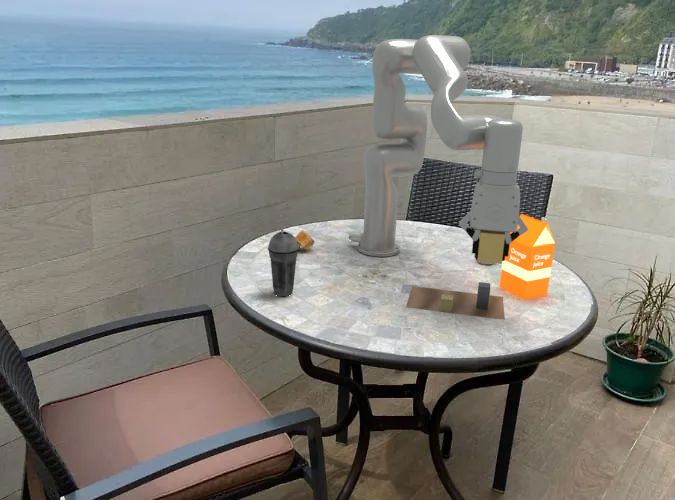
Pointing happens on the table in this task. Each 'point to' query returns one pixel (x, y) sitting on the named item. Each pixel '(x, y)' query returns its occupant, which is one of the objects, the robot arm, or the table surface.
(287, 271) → the beverage cup
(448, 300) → the wooden stub
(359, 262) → the table surface
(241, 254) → the table surface
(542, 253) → the orange juice
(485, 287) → the post
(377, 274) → the set of tan pieces
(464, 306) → the board
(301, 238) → the pyrite
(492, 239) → the tan rectangular block
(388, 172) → the robot arm
